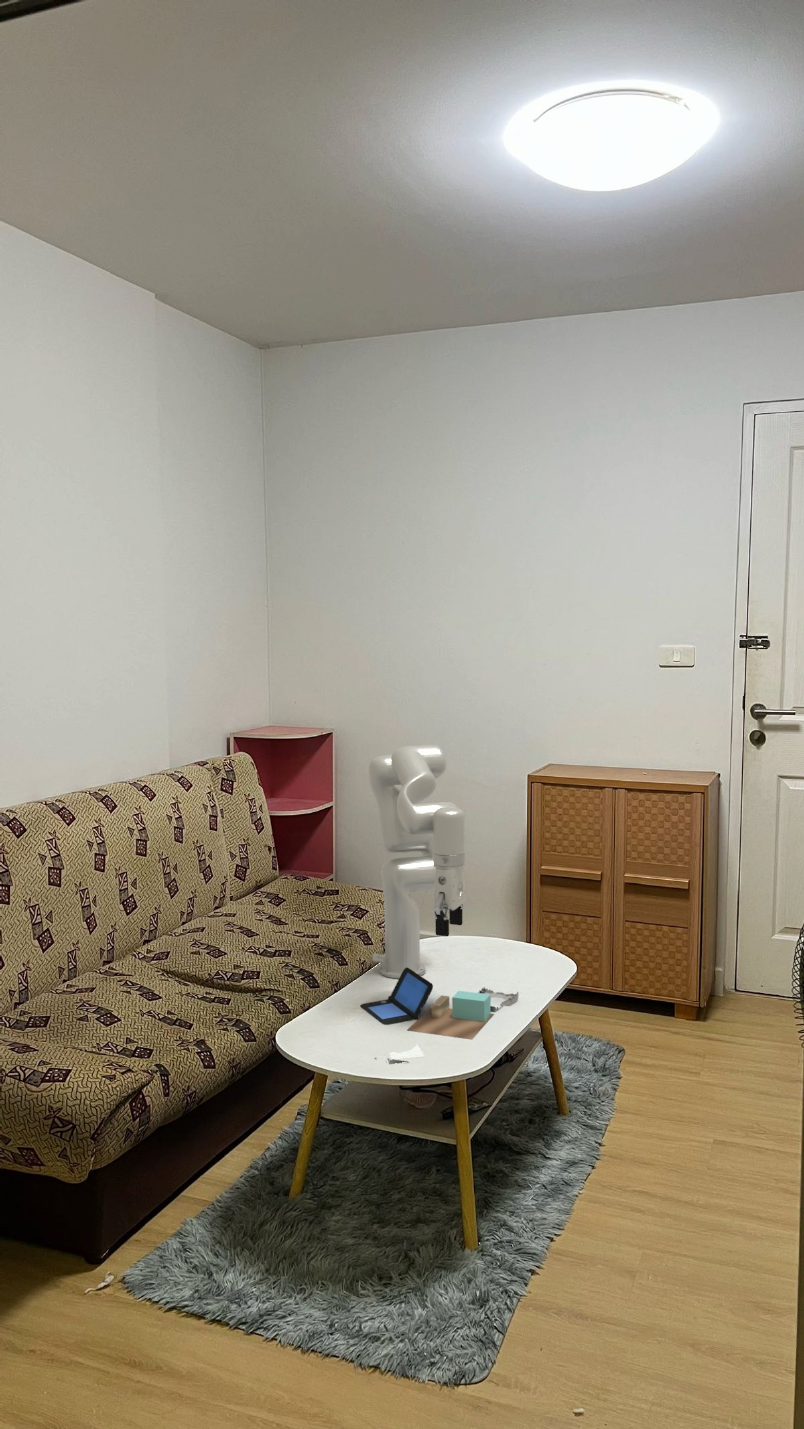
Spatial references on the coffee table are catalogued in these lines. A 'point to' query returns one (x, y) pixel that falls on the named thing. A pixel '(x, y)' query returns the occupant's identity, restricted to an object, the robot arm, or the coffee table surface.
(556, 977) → the coffee table surface
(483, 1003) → the teal block
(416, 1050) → the external hard drive
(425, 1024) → the walnut board
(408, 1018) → the handheld game console
